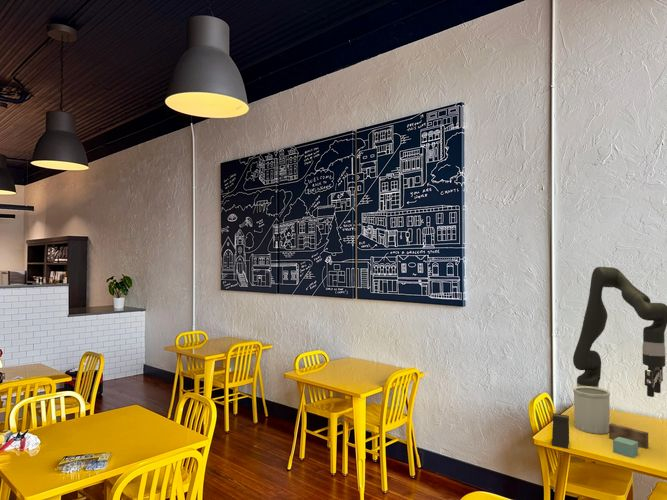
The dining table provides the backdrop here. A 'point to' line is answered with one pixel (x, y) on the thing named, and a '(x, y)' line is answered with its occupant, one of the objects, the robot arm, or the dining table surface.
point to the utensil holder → (591, 409)
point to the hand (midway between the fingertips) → (653, 394)
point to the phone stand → (560, 431)
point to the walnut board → (629, 434)
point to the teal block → (625, 447)
